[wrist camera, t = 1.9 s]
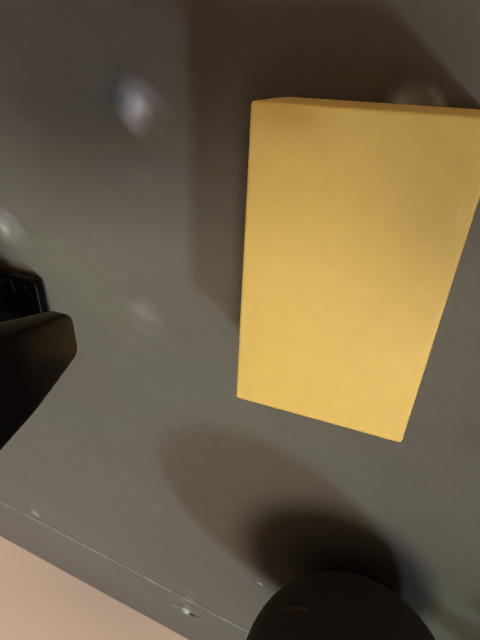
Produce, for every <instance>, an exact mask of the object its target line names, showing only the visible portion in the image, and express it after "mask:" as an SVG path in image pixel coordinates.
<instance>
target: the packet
mask: <svg viewBox="0 0 480 640" xmlns="http://www.w3.org/2000/svg"><path fill="white" fill-rule="evenodd" d="M479 197H480V109H466V108H451V107H436V106H421V105H406V104H391V103H376V102H361V101H346V100H331V99H316V98H301V97H280V98H272V99H263V100H255V101H252V104H251V119H250V138H249V158H248V177H247V197H246V216H245V236H244V255H243V275H242V294H241V314H240V333H239V353H238V372H237V392H236V396H237V397H238V398H242V399H245V400H249V401H253V402H256V403H260V404H263V405H267V406H271V407H274V408H278V409H281V410H285V411H289V412H292V413H296V414H299V415H303V416H307V417H310V418H314V419H317V420H321V421H325V422H328V423H332V424H336V425H339V426H343V427H346V428H350V429H354V430H357V431H361V432H364V433H368V434H372V435H375V436H379V437H382V438H386V439H390V440H393V441H397V442H401V441H402V439H403V436H404V433H405V430H406V427H407V423H408V420H409V417H410V414H411V411H412V408H413V405H414V401H415V398H416V395H417V392H418V389H419V386H420V383H421V379H422V376H423V373H424V370H425V367H426V364H427V361H428V358H429V354H430V351H431V348H432V345H433V342H434V339H435V336H436V332H437V329H438V326H439V323H440V320H441V317H442V314H443V310H444V307H445V304H446V301H447V298H448V295H449V292H450V288H451V285H452V282H453V279H454V276H455V273H456V270H457V266H458V263H459V260H460V257H461V254H462V251H463V248H464V244H465V241H466V238H467V235H468V232H469V229H470V226H471V222H472V219H473V216H474V213H475V210H476V207H477V204H478V200H479Z"/></svg>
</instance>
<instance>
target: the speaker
mask: <svg viewBox="0 0 480 640" xmlns="http://www.w3.org/2000/svg"><path fill="white" fill-rule="evenodd" d="M247 640H435V638H434V637H433V635H432V633H431V632H430V630H429V629H428V628H427V626H426V625H425V623H424V622H423V621H422V620H421V618H420V617H419V616H418V615H417V614H416V612H415V611H414V610H413V609H412V608H411V607H410V606H409V605H408V604H407V603H406V602H405V601H404V600H402V599H401V598H400V597H399V596H398V595H396V594H395V593H394V592H392V591H391V590H390V589H388V588H387V587H385V586H383V585H382V584H380V583H378V582H376V581H374V580H372V579H370V578H367V577H365V576H362V575H359V574H355V573H351V572H346V571H334V570H331V571H320V572H314V573H310V574H307V575H304V576H302V577H299V578H297V579H295V580H293V581H292V582H290V583H288V584H287V585H285V586H284V587H283V588H281V589H280V590H279V591H278V592H277V593H276V594H274V595H273V596H272V598H271V599H270V600H269V601H268V602H267V603H266V604H265V606H264V607H263V609H262V610H261V611H260V613H259V615H258V616H257V618H256V620H255V622H254V623H253V625H252V628H251V630H250V632H249V635H248V637H247Z"/></svg>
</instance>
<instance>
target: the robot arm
mask: <svg viewBox="0 0 480 640" xmlns="http://www.w3.org/2000/svg"><path fill="white" fill-rule="evenodd" d="M76 351H77V344H76V338H75V333H74V327H73V322H72V319H71V318H70V316H68V315H67V314H63V313H59V312H54V311H49V312H48V311H47V307H46V302H45V297H44V292H43V287H42V284H41V282H40V281H39V280H38V279H37V278H36V277H34V276H30V275H26V274H21V273H17V272H12V271H8V270H4V269H0V450H1V449H2V448H3V447H4V445H5V444H6V443H7V442H8V441H9V440H10V439H11V438H12V436H13V435H14V434H15V433H16V432H17V431H18V430H19V429H20V427H21V426H22V425H23V424H24V423H25V422H26V421H27V420H28V418H29V417H30V416H31V415H32V414H33V412H34V411H35V410H36V409H37V407H38V406H39V405H40V404H41V402H42V401H43V400H44V398H45V397H46V395H47V394H48V393H49V391H50V390H51V389H52V387H53V386H54V385H55V383H56V382H57V380H58V379H59V378H60V376H61V375H62V374H63V372H64V371H65V370H66V368H67V367H68V365H69V364H70V363H71V361H72V360H73V359H74V357H75V355H76Z"/></svg>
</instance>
